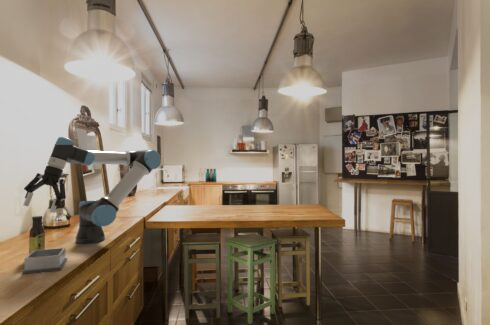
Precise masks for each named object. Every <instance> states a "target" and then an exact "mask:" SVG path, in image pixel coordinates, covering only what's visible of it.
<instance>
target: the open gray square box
mask: <svg viewBox="0 0 490 325" xmlns="http://www.w3.org/2000/svg"><path fill="white" fill-rule="evenodd" d="M66 253H67V252H66V247H58V248H45V249H43V250H33V251H32V252H31V253H30V254H29V253H28V255H27V256H25V257H24V269H22V272H21V274H22V275H29V274H38V273H49V272H60V271H62V270H63V268H64V267H65V265H66V264H65V263H67V262H68V261H67V260H69V259H68V257H66V256H67V255H66ZM59 270H60V271H59Z"/></svg>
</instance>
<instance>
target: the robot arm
mask: <svg viewBox="0 0 490 325" xmlns="http://www.w3.org/2000/svg"><path fill="white" fill-rule="evenodd" d="M74 143H75V141H74V140H73V139H70V138H68V137H63V136H59V137H58V138H57V140H56V141H55V143H54V146H53V150H52V152H51V154H50V157H49V158H48V161H47V165H46V166H45V169H44V171H43V172H44V173H43V174H41V173H39V172H38V173H36V175H35V177H34V178H32V180H30V181H29V183H28V184H26V186H24V188H23V189H24V191H26V193H25V197H24V199H25V200H24V202H23V206H24V207H25V206H26V207H30V203H31V201H32V199H33V196H34V192H35V191H36V190H38V189H39V188H41V187H43V186H44V185H46V186H48V187H49V186H50V187H52V189H53V192H54V195H55V198H54V199H53V201H52V205H51V207H50V209H49V213H53V214H54V213H55V212H56V209H57V207H59V206H60V203H61V200H66V196H67V195H66V187H65V186H66V185H65V184H66V179H64V178H61V177H62V175H63V171H64V170H63V169H65V168H66V164H67V163H68V164H82V165H84V166H91V165H93V164H95V165H122V166H124V167H131V168H130V169H129V170H128V171H127V173H125V174H124V176H123V177H122V178H121V179H120V180H119V181H118V182H117V184H116V185H115V186H114V187H113V188H112V190H110V191H109V193H108V194H107V195H106V196H103V197H101V198H100V199H93V200H83V201H80V202H79V203H78V204H79V205H78V230H77V234H76V236H75V243H77V244H91V243H93V244H94V243H98V242H102V241H104V240H106V236H105V231H104V229H103V227H106V226H110V225H112V224H113V222H114V221H115V220H116V218H117V213H118V212H119V210H120V205H121V204H122V202H123V201H125V199H126V198H127V197H128V195H130V193H131V192H132V191H133V190H134V188H135V187H136V186H137V184H139V183H140V181H141V180H142V179H143V178H144V176H146V175H150V173H151V172H152V171H153V170H156V169H158V168H159V167H160V166H161V163H162V157H161V156H162V155H161V154H160V153H159V152H158V151H157V150H155V149H141V150H140V149H139V150H133V151H131V150H127V151H124V152H121V151H119V152H118V151H103V150H88V149H85V148H81V147H78V146H76V145H74Z"/></svg>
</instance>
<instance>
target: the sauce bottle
mask: <svg viewBox="0 0 490 325" xmlns="http://www.w3.org/2000/svg"><path fill="white" fill-rule="evenodd" d="M28 239H29V240H28V245H29V246H28V255H29V254H30V253H31V252H32V251H33V250H43V249H46V243H45V242H46V231H45V229H44V227H43V215H33V216H32V227H31V228H30V230H29V237H28Z"/></svg>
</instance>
